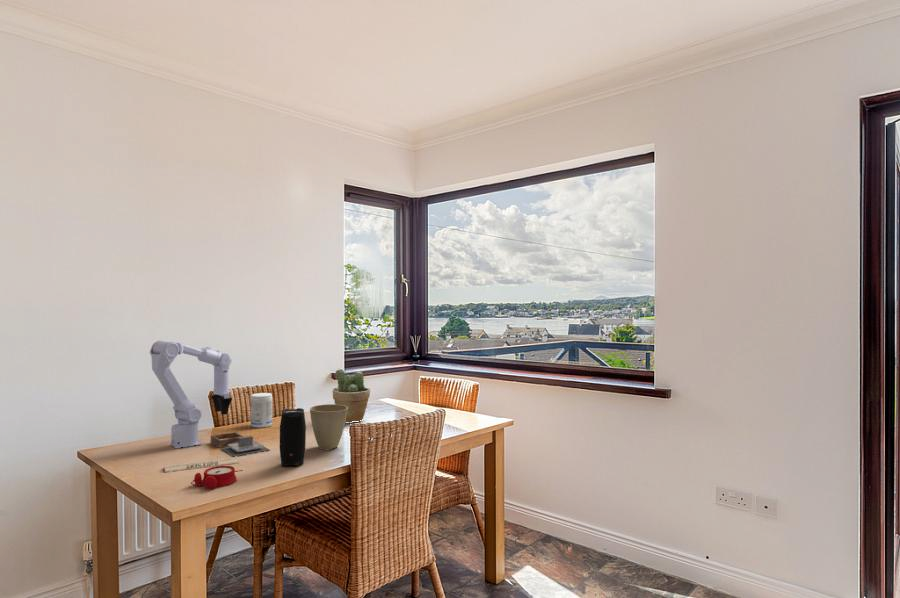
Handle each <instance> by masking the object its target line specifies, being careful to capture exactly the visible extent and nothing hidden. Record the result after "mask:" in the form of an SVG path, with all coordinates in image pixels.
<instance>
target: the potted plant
mask: <svg viewBox="0 0 900 598" xmlns="http://www.w3.org/2000/svg"><path fill="white" fill-rule="evenodd" d="M335 377H336V380H337V387H335V388H333V389H332V398H333V400H334V404H336V405H344V406H347V407H348V410H347V416H346V421H345V422H352V421H360V420H362V419H363V420H364V416H365V413H366V410H367V407H368V402H369V399H370V397H371V396H370V395H371V388H369V387H365V386H366V385H365V381H364V379H365V376H364V373H363V372H362V371H356V372H354V373H353V374H346V373H345V370H344V369H343V368H342V369H341V368H340V369H339V368H338V369H337V370H336V371H335Z"/></svg>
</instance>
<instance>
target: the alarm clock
mask: <svg viewBox="0 0 900 598" xmlns="http://www.w3.org/2000/svg"><path fill="white" fill-rule="evenodd" d="M236 472H237V473H238V472H243V469H240V470H239V469H238V470H236V469H235V467H234V466H231V465H221V466H213V467H208V468H206V469H205V470H204V471H203V478H202V473H200V472H196V473H195V475H194V479H192V481H191V482H190V484H191V485H193V486H196V487H202V486H203V487H204V488H205V489H207V490H214V489H216V488H220V487H226V486H230V485H232V484H234V483H236V482H237V479H238V478H237V476H236ZM229 484H230V485H229Z"/></svg>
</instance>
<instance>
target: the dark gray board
mask: <svg viewBox="0 0 900 598" xmlns="http://www.w3.org/2000/svg"><path fill="white" fill-rule="evenodd" d="M221 449H222V450H221ZM220 450H221V451H223V450H224V451H223V452H225V453H226V452H227V453H226V454H228V453H229V454H230V455H229V454H228V455H229V456H231V455H232V456H231V457H232V458H236V457H235V456H238V457H242V455H243V456H247V454H249V455H254V454H258V452H260V453H265V452H264V451H266V452H270V451H271V449H269V447H266V446H264V447H263V448H258V449H256V450H251V451H245V452H236V451H234V450H233V449H231V448H229V447H223V448H220ZM269 450H270V451H269ZM253 453H254V454H253Z"/></svg>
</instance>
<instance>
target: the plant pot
mask: <svg viewBox="0 0 900 598" xmlns="http://www.w3.org/2000/svg"><path fill="white" fill-rule="evenodd" d="M347 410H348V407H347V406H344V405H336V404H335V403H334V404H331V403H329V404H319V405H318V404H317V405H313V406H311V407H309V413H310V420H311V426H312V430H313V435H314V437H315V441H316V444H317V447H318V449H320V448H322V449H321V450H323V449H331V448H335V447H337V446H338V447H339V444H340V442H341V439H342V435H343V433H344V428H345V424H346V423H345V421H346V416H347ZM338 447H337V448H338ZM335 449H336V448H335ZM331 450H332V449H331Z"/></svg>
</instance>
